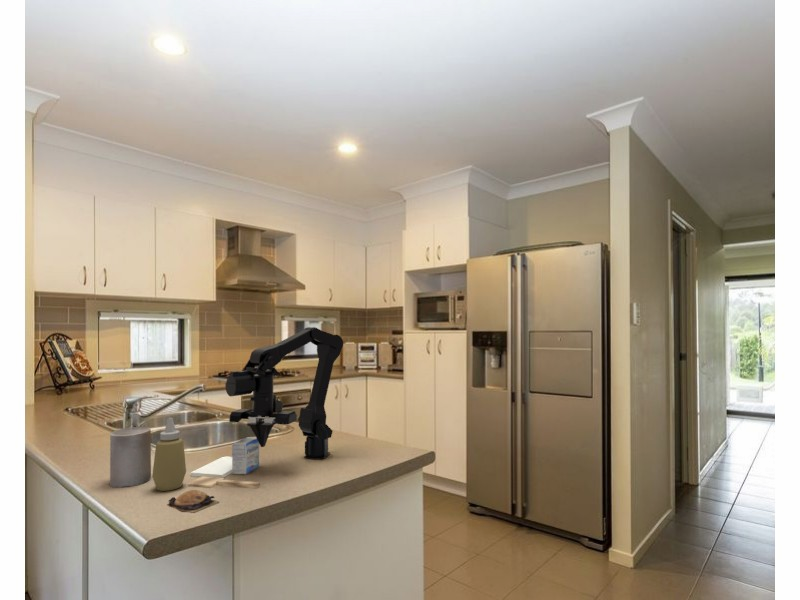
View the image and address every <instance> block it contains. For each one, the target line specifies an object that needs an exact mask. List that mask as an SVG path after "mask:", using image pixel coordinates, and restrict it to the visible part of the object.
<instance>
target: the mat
mask: <svg viewBox="0 0 800 600" xmlns="http://www.w3.org/2000/svg"><path fill="white" fill-rule="evenodd" d="M229 475H232V456H227V455H226V456H222V457H220V458H217V459H215V460H212V462H209V463H207V464H206V465H203V466H201V467H199V468H197V469H195V470H193V471H191V472H190V477H197V478H200V477H202V476H203V477H216V478H226V477H228V476H229Z"/></svg>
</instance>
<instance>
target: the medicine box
mask: <svg viewBox="0 0 800 600" xmlns="http://www.w3.org/2000/svg"><path fill="white" fill-rule="evenodd" d="M231 457H232V473H231V475H232V474H233V475H248V474H249V473H251V472H253V471H254V470H255V469H257V468H258V467H259V468H260V444H259V442H258V440H257V438H256V436H247V437H244V438H242V439H240V440H238V441H236V442H234V443H232V444H231Z"/></svg>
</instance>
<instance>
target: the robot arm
mask: <svg viewBox="0 0 800 600" xmlns="http://www.w3.org/2000/svg"><path fill="white" fill-rule="evenodd" d="M309 343H311V344H312V345H314V346H316V353H317V358H318V362H317V367H316V371H315V375H314V380H313V383H312V389H311V393H310V398H309V400H308V401H309V402H308V404H307V405H306V407H300V410H299V416H298V414H297V412H296V411H294V410H283V407H284V402H283V401H281V400H278V399H277V396H276V394H274V377H275V376H276V377H277V376H280V375H281V373H280V372H279V371H278V370H277V369H276V366H277V365H278V364H279V363H281V362H282V361H283V359H284V358H285V357H286V356H287V355H289V354H291V353H292V352H295V351H297V350H298V349H300V348H302V347H303V346H305V345H307V344H309ZM343 347H344V340H343V339H342V336H341V335H339V334H334V333H330V332H327V331H324V330H321V329H319V328H317V327H315V326H313V327H311V326H310V327H308V326H307V327H305V328H304V329H302V330H301V331H298V332H297V333H295V334H292V335H290V336H289V337H287V338H285V339H283V340H281V341H280V342H277V343H274V344H271V345H266V346H265V345H264V346H263V347H258V348H255V349H254V350H253V351H251V353H250V356H249V359H248V361H247V363H246V364H245V365H244V367H243V368H242V370H241V371H239V370H237V371H235V370H232V371H229V376H228V377H227V378H226V382H225V391H226V394H227V395H228V396H229V397H231V398H232V397H237V396H245V395H251V394H252V396H250V401H251V402H252V410H251V409H249V408H248V409H247V408H240V409H236V410H233V411H231V412H230V414H229V416H228V417H229V418H228V419H229V421H228V422H230V423H239V422H240V421H242V420H248V423H246V426H248V427H250V429H251V430H252V432H253V434H254V435H255V436H254V437H256V438H257V440H258V442H259V447H260V448H264V447H266V445H267V442H268V439H269V436H270V434H271V431H272V429H273V428H274V426H275V425H289V424H292V423H294V422H296V421H298V427H299V429H300V430H301V433H302V436H304V437H305V438H306V439H305V441H304V456H303V458H304V459H314V460H324V459H325V458H326V457H328V456H330V455H331V452H330V451H329V439H330V438H332V435H333V432H334V431H333V429H331V427H329V425H328V424H327V413H326V409H325V403H326V400H327V393H328V390H329V385H330V382H331V378H332V377H331V376H332V372H333V367H334V364H335V361H336V360H338V358H339V356H340V355H341V352H342V350H343ZM297 416H298V419H297Z"/></svg>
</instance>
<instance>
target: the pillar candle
mask: <svg viewBox="0 0 800 600" xmlns="http://www.w3.org/2000/svg"><path fill="white" fill-rule="evenodd" d="M151 435H152V433H151V427H148V426H135V427H133V425H131V426H130V427H124V428H120V429H117V430H113V431H112V432H110V435H109V438H110V441H109V443H110V444H109V445H110V446H109V447H110V448H109V451H110V453H109V454H110V457H109V458H110V461H109V465H110V467H109V468H110V469H109V473H110V474H109V477H110V479H109V480H110V481H109V483H110V486H111V487H113V488H124V487H134V486H139V485H142V484H144V483H147V482H148V481H150V480H151V478H152V459H151V458H152V447H151V446H152V445H151V444H152V443H151V441H152V439H151V438H152V436H151Z"/></svg>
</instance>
